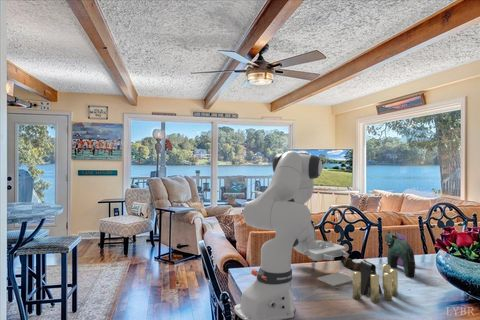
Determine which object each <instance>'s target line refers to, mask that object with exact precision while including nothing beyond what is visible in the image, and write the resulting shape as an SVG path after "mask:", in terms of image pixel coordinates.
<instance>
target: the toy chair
mask: <svg viewBox="0 0 480 320" xmlns="http://www.w3.org/2000/svg"><path fill="white" fill-rule="evenodd" d="M396 234H397V235H398V237H399V239H405V240H406V241H407V242H408V238H407V236H406V235H404V234H401V233H396ZM397 266H404V265H403V261H402V260H401V258H399V259H398V262H397Z"/></svg>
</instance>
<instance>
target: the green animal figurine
mask: <svg viewBox="0 0 480 320" xmlns="http://www.w3.org/2000/svg"><path fill="white" fill-rule="evenodd" d="M398 233H400V230H399V229H395V233H392V232H390V231H389V230H387V233H386V234H385V236H384V243H385V245H386V246H388V248H387V257H386V258H387V259H386V260H387V264H389V265H390V268H392V269H395V268H398V265H397V262H398V259H399V258H401V260H402V261H403V265H402V266H403V269H404V274H405V277H406V278H415V273H416V260H415V253H414V250H413V247H412V245H411V244H410V243H409V241H408V240H407V241H406V240H405V239H399V237H398V235H397V234H398Z"/></svg>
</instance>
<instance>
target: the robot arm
mask: <svg viewBox="0 0 480 320" xmlns="http://www.w3.org/2000/svg"><path fill="white" fill-rule="evenodd" d="M322 162H323V161H322V159H321V158H320V156H318V155H315V154H311V155H310V154H304V153H298V152H297V151H293V150H289V151H286V152H281V153H277V154H276V155H275V156H274V157H273V159H272V163H271V164H272V171H273V175H272V177H271V180H270V182H269V185H267V188H266V189H265V190H264V191H263V192H262V193H261V194H260V195H258V196H257V197H255V198H253V199H251V200H249V201H247V203H246V204H245V206H244V207H243V210H242V217H243V220H244V222H245V224H246V225H247V226H249V227H251V228H256V229H257V230H258V229H259V230H266V231H274V232H275V236H274V238H271V239H269V240H267V241H265V242H264V243H263V244H262V246H261V247H260V267H259V269H258V270H256V269H254V268H253V269H252V270H251V272H250V273H251V276H254V277H256V279H255V280H253V282H252V283H251V284H250V285H249V286H248V287H247V288H246V289H245V290H243V291H242V293H241V297H240V303H238V304H236V305H234V307H233V311H234V313H235V314H236V315H237V316H238V317H239V318H240V319H242V320H287V319H292V318H294V317H295V313H294V312H295V310H296V304H295V302H294V296H293V290H292V289H293V287H292V281H293V269H292V253H293V252H292V251H293V249H294V250H295V251H296V252H298V253H300V254H302V255H305V256H307V257H308V258H309V259H310V260H312V261H315V262H321V261H323V260H324V261H325V260H327V261H331V262H332V261H334V260H335V258H336V257H337V258H338V257H341V256H342V258H348V257H349V253H348V252H347V249H346V246H343V245H341V244H338V243H333V241H331V240H319V239H316V229H315V225H314V224H313V222H312V214H311V210H310V208H309V207H308V206H307V205H306V203H307V202H308V201H309V200H310V199H311V198H312V197H313V193H314V186H315V185H314V179H318V178H319V177H320V175H321V173H322V171H323V163H322Z"/></svg>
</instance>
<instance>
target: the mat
mask: <svg viewBox="0 0 480 320" xmlns="http://www.w3.org/2000/svg"><path fill="white" fill-rule="evenodd" d="M316 280H319V281H321V282H323V283H325V284H328V285H329V286H332V287H335V286H339V285H343V284H348V283H350V282H353V275H351V274H349V273H346V272H343V271H338V272H333V273H330V274H326V275H322V276H318V277H316Z"/></svg>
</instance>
